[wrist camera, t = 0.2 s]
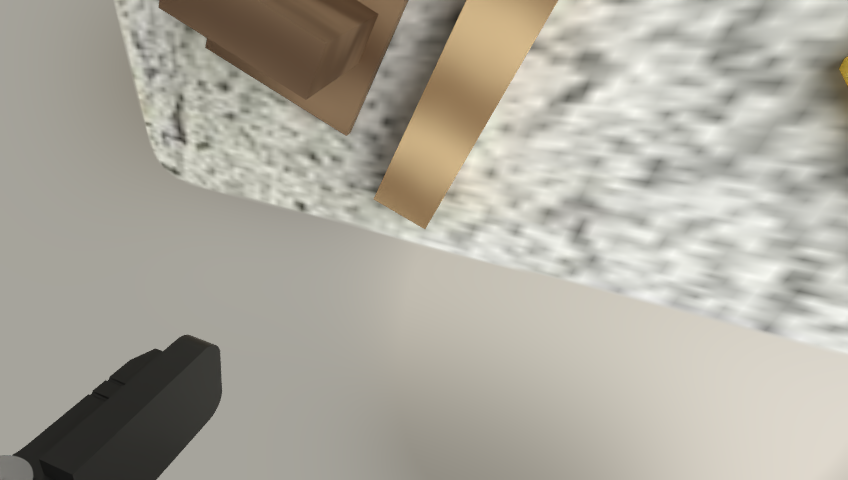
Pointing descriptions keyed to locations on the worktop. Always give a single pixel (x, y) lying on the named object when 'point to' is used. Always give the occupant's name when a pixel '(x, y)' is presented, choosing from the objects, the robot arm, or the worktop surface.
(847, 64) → the dish sponge
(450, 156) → the oak rod
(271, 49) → the walnut fulcrum
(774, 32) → the worktop surface
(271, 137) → the worktop surface
